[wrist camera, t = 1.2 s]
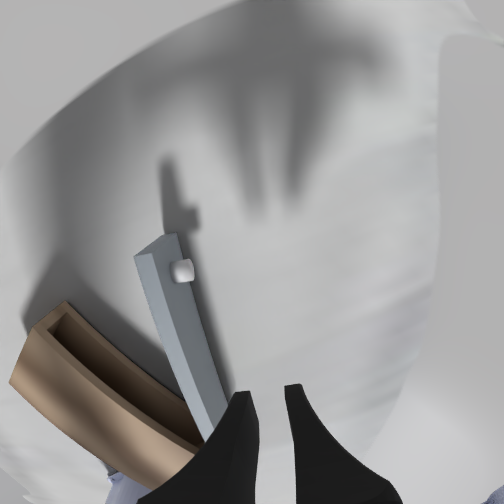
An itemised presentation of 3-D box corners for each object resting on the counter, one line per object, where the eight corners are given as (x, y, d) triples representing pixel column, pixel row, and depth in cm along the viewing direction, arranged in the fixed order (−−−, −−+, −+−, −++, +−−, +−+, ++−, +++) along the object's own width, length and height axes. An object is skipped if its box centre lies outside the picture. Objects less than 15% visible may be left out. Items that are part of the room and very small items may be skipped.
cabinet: (170, 461, 25) (160, 494, 21) (34, 356, 22) (8, 382, 18) (227, 429, 23) (222, 469, 19) (65, 300, 20) (32, 326, 16)
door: (224, 427, 23) (218, 468, 19) (161, 235, 18) (133, 256, 14) (247, 426, 23) (245, 467, 18) (191, 229, 18) (171, 249, 14)
